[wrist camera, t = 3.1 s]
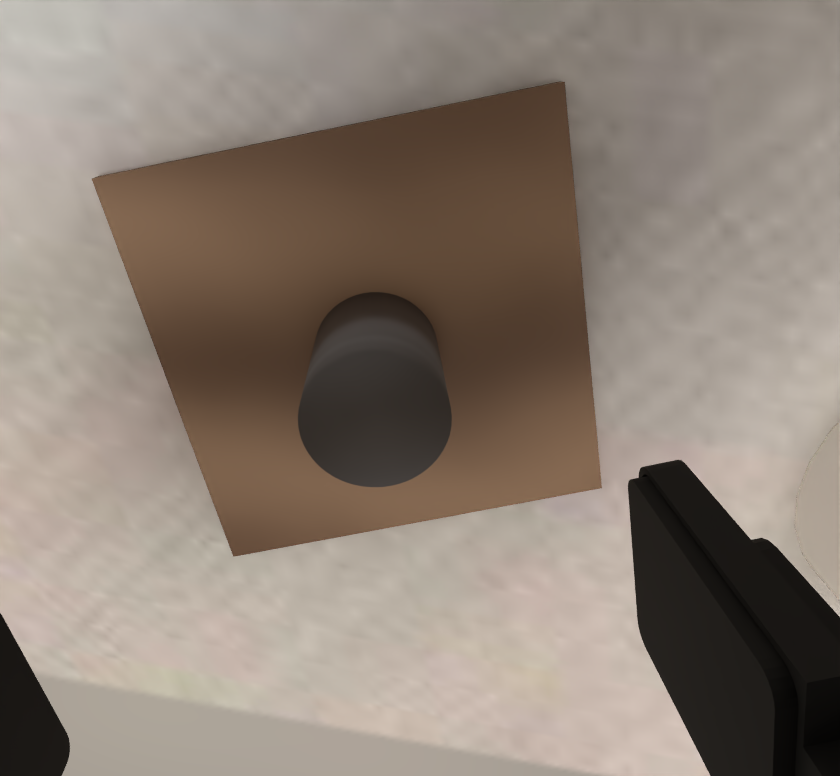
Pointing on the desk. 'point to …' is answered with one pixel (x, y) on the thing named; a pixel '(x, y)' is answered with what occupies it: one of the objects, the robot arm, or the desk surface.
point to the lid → (371, 317)
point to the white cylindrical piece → (822, 512)
